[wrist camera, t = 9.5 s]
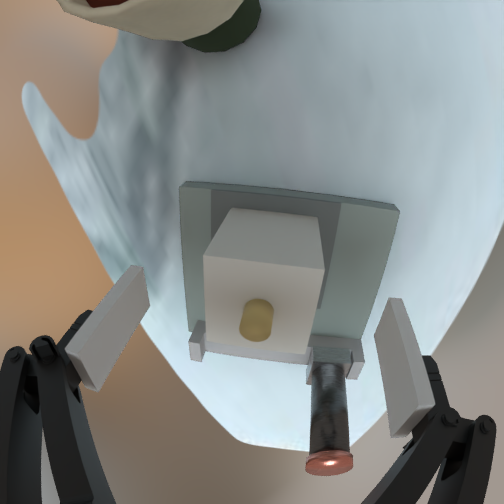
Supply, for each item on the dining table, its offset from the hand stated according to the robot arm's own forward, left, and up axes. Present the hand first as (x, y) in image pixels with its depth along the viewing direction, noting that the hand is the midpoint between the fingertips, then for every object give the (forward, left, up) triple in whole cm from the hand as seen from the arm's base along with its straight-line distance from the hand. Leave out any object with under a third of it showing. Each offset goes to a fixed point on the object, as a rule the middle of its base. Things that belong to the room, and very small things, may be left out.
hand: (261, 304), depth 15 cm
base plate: (+4, +1, -9) cm, 10 cm away
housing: (+1, 0, -7) cm, 7 cm away
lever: (+10, +6, -6) cm, 13 cm away
